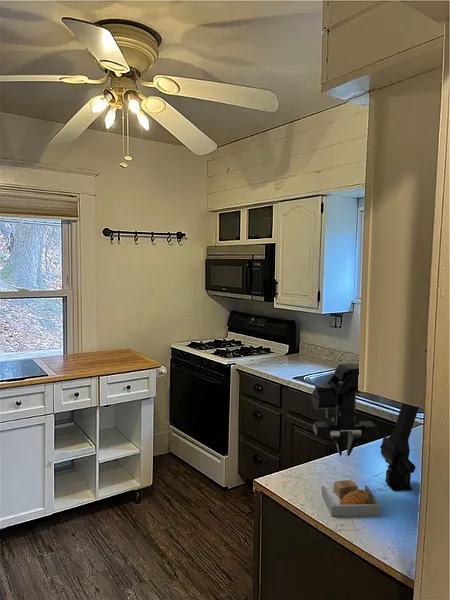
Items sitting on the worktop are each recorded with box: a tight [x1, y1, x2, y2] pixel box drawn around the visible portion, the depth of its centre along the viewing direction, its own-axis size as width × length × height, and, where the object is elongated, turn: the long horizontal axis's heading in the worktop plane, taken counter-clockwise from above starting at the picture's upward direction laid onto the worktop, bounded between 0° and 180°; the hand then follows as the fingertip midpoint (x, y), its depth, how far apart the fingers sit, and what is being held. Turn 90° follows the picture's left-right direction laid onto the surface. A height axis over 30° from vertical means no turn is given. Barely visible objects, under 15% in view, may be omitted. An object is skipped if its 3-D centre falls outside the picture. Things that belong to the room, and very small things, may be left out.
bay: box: [321, 484, 382, 517], centre depth 136 cm, size 14×11×3 cm
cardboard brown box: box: [333, 479, 359, 500], centre depth 142 cm, size 6×4×4 cm, turn 103°
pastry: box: [339, 488, 371, 505], centre depth 136 cm, size 9×7×4 cm
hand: (344, 455), depth 142 cm, fingers open, 2 cm apart
